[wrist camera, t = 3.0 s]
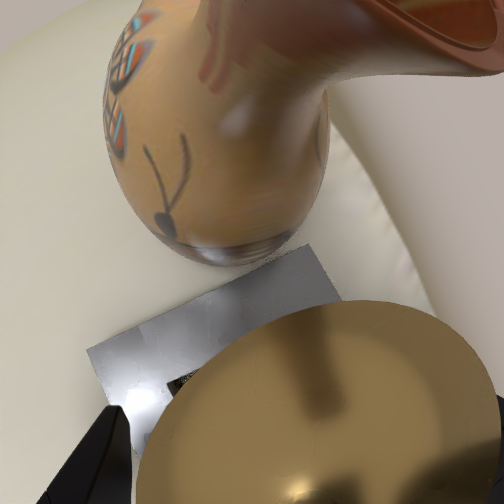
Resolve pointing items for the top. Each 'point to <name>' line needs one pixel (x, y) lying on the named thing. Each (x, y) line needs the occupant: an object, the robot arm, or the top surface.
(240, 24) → the ceramic vessel
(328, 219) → the top surface
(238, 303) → the grey square flat frame
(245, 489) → the brass goblet
